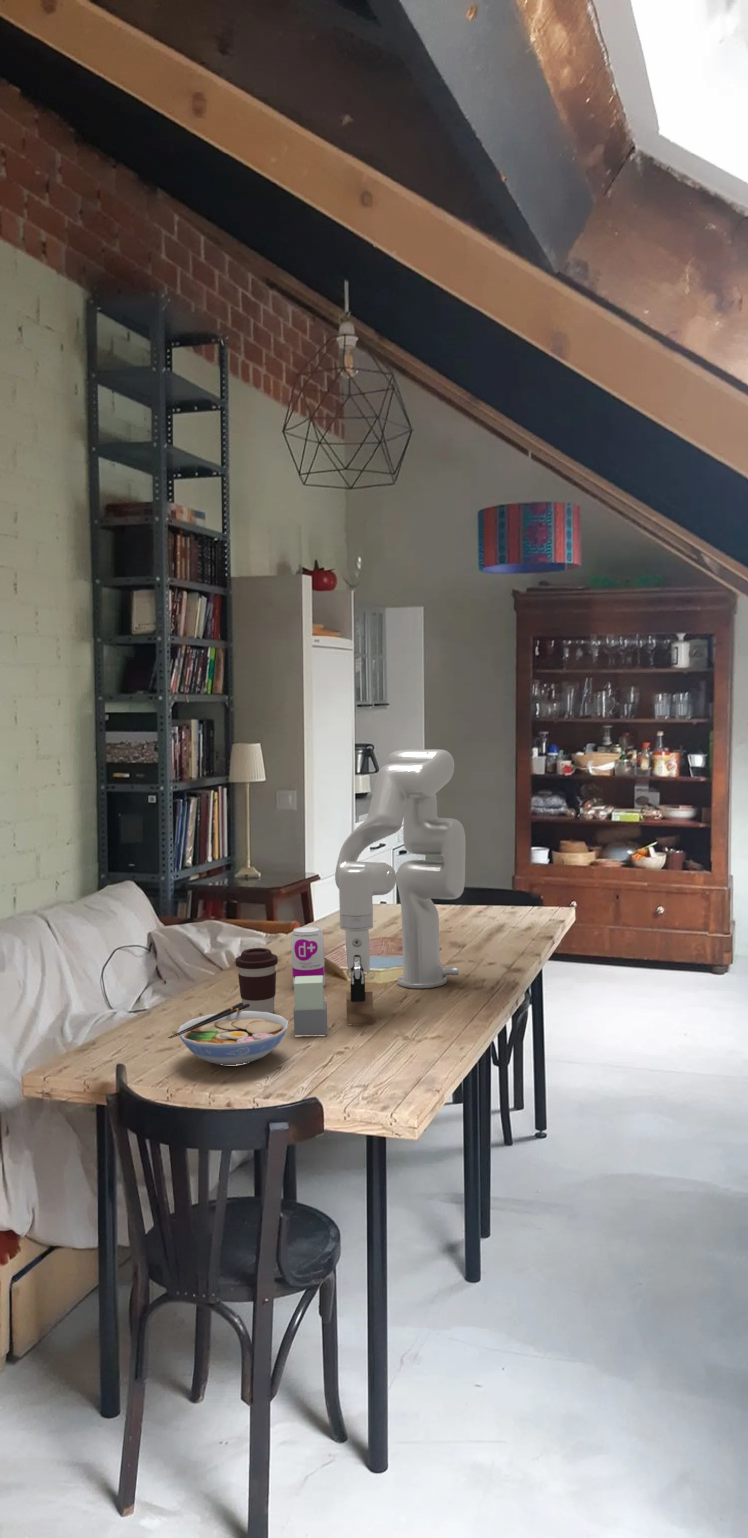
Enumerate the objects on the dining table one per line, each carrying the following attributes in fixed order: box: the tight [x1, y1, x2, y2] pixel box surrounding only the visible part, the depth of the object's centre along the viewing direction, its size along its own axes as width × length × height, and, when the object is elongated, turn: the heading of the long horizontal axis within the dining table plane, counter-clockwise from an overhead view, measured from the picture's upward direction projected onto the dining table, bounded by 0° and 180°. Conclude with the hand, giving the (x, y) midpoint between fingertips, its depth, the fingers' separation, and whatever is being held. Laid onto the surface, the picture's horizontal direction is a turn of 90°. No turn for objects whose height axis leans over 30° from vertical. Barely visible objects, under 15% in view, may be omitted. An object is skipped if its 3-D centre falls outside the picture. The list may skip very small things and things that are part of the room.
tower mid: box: [293, 975, 325, 1011], centre depth 250 cm, size 6×6×6 cm
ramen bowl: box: [167, 1002, 289, 1065], centre depth 232 cm, size 25×23×8 cm
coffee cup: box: [235, 947, 279, 1014], centre depth 266 cm, size 10×10×15 cm
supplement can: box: [290, 926, 326, 987], centre depth 288 cm, size 8×8×15 cm
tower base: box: [293, 1000, 328, 1036], centre depth 250 cm, size 7×7×6 cm
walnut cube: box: [345, 991, 375, 1026], centre depth 257 cm, size 6×6×6 cm
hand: (358, 995), depth 256 cm, fingers open, 9 cm apart
